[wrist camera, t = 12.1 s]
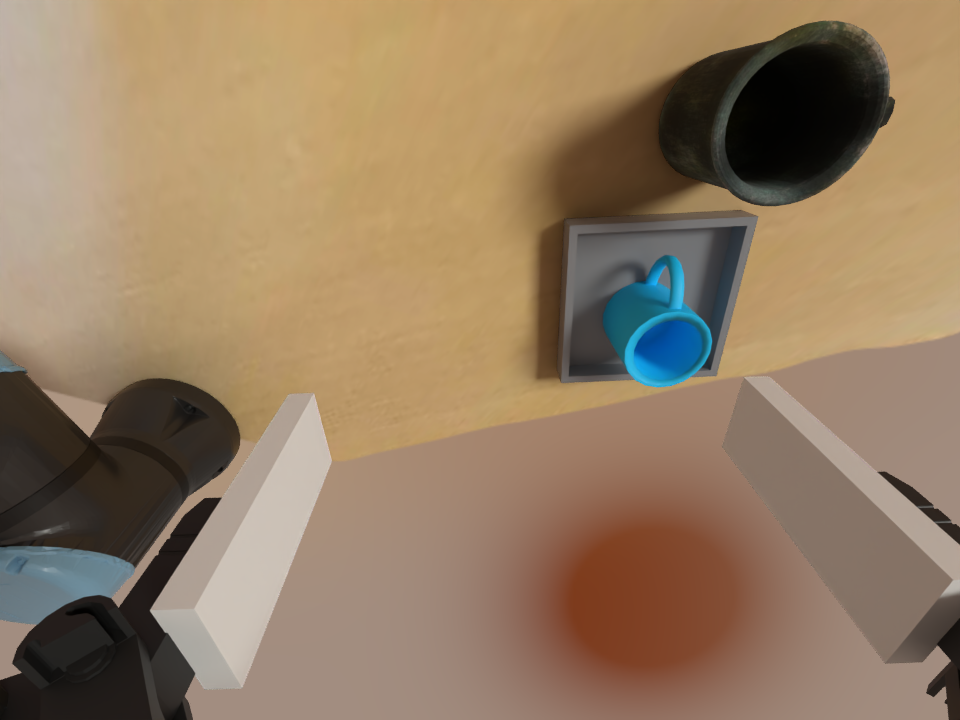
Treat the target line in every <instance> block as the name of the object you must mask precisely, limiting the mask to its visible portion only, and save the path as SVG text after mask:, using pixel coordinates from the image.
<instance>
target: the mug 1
mask: <svg viewBox="0 0 960 720" xmlns="http://www.w3.org/2000/svg"><path fill="white" fill-rule="evenodd" d="M666 266H667V267H668V270H669V274H670V289H669V288H667V287H665V286H664V285H662V284H660V283H657V282H658V279H659V277H660V275H661V273H662V271H663V269H664V268H665V267H666ZM683 297H684V273H683V269H682V265H681V263H680V262H679V260H678V259H677V258H676V257H675V256H670V255H664V256H662V257H661V258H659V259H658V260H656V262H655V263H654V264H653V266H652V267H651V269H650V271H649V273H648V276H647V278H646V281H641V282H635V283H632V284H630V285H628V286H625V287H623V288H622V289H621V290H619V291H618V292H617V293H616V294H614V295H613V297H612V298H611V299H610V301H609V302H608V303H607V305H606V308H605V311H604V313H603V327H604V330H605V333H606V335H607V337H608V339H609V340H610V342H611V344H612V345H613V347H614V349H615V351H616V352H617V354H618V356H619V357H620V359H621V361H622V362H623V364H624V366H625V368H626V369H627V371H628V372H629V374H630V375H631V376H632V377H633V378H634V379H635V380H636V381H638V382H640V383H642V384H644V385H647V386H653V387H665V386H672V385H675V384H677V383H680V382H683V381H685V380H686V379H688V378H689V377H691V376H692V375H694V374H695V373H696V372H697V371H698V370H699V369H700V368H701V367H702V366H703V365H704V363H705V362H706V360H707V358H708V356H709V354H710V351H711V345H712V337H711V333H710V329H709V328H708V326H707V325H706V324H705V322H704V321H703V320H702V319H701V318H700V317H699V316H698V315H697V314H696V313H695V312H694V311H692V310H691V309H690V308H689V307H688V306H687V305H686V304H685V303H684V302H683Z"/></svg>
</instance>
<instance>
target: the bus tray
mask: <svg viewBox="0 0 960 720" xmlns="http://www.w3.org/2000/svg"><path fill="white" fill-rule="evenodd" d="M757 219H758V216H756V215H753V214H750V213H748V212H745V211H742V210H733V211H713V212H693V213H673V214H652V215H632V216H612V217H592V218H571V219H564V233H563V253H562V274H561V294H560V315H559V335H558V356H557V372H558V375H559V378H560V381H561V383H571V382H594V381H616V380H635V379H634V378H633V377H632V376H631V375H630V374H629V372H628V371H627V369H626V368H625V366H624V364H623V362H622V361H621V359H620V357H619V356H618V354H617V352H616V351H615V349H614V347H613V345H612V344H611V342H610V340H609V339H608V337H607V335H606V333H605V330H604V327H603V313H604V311H605V308H606V305H607V303H608V302H609V301H610V299H611V298H612V297H613V295H614V294H616V293H617V292H618V291H619V290H621V289H622V288H623V287H625V286H628V285H630V284H632V283H635V282H641V281H646V278H647V276H648V273H649V271H650V269H651V267H652V266H653V264H654V263H655V262H656V260H658V259H659V258H661V257H662V256H664V255H670V256H675V257H676V258H677V259H678V260H679V262H680V263H681V265H682V269H683V273H684V297H683V302H684V303H685V304H686V305H687V306H688V307H689V308H690V309H691V310H692V311H694V312H695V313H696V314H697V315H698V316H699V317H700V318H701V319H702V320H703V321H704V322H705V324H706V325H707V326H708V328H709V329H710V333H711V337H712V345H711V351H710V354H709V356H708V358H707V360H706V362H705V363H704V365H703V366H702V367H701V368H700V369H699V370H698V371H697V372H696V373H695V374H694V375H692V376H691V377H706V376H716V375H717V371H718V368H719V364H720V360H721V356H722V352H723V349H724V345H725V341H726V337H727V333H728V330H729V326H730V322H731V318H732V314H733V311H734V307H735V303H736V299H737V295H738V292H739V288H740V284H741V280H742V276H743V273H744V269H745V265H746V261H747V257H748V254H749V250H750V246H751V242H752V238H753V235H754V231H755V227H756V223H757ZM657 283H660V284H662V285H664V286H665V287H667V288H669V289H670V274H669V270H668V267H667V266H666V267H665V268H664V269H663V271H662V273H661V275H660V277H659V279H658V282H657Z"/></svg>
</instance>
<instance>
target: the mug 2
mask: <svg viewBox="0 0 960 720" xmlns="http://www.w3.org/2000/svg"><path fill="white" fill-rule="evenodd" d="M889 89H890V76H889V68H888V64H887V60H886V57H885V55H884V53H883V51H882V48H881V47H880V45H879V44H878V43H877V41H876V40H875V39H874V38H873V37H872V36H871V35H870V34H868V33H867V32H866V31H865V30H863V29H861V28H859V27H857V26H855V25H852V24H849V23H844V22H839V21H820V22H814V23H808V24H805V25H802V26H799V27H797V28H794V29H791V30H789V31H787V32H786V33H784V34H782V35H780V36H778V37H776V38H775V39H773V40H771V41H767V42H762V43H758V44H754V45H750V46H745V47H741V48H737V49H733V50H728V51H724V52H720V53H717V54H714V55H711V56H709V57H707V58H705V59H703V60H701V61H700V62H698V63H697V64H695V65H694V66H693V67H691V68H690V69H689V70H688V71H687V72H686V73H685V74H684V75H683V76H682V77H681V78H680V79H679V80H678V82H677V83H676V84H675V85H674V87H673V89H672V90H671V92H670V93H669V95H668V97H667V99H666V101H665V104H664V107H663V110H662V113H661V117H660V122H659V140H660V146H661V149H662V152H663V154H664V156H665V158H666V160H667V161H668V163H669V164H670V165H671V166H672V167H673V168H674V169H675V170H676V171H677V172H679V173H681V174H682V175H685V176H687V177H690V178H693V179H696V180H699V181H703V182H706V183H709V184H712V185H715V186H719V187H722V188H725V189H728V190H729V191H730V192H731V193H732V194H733V195H734V196H736V197H738V198H739V199H741V200H743V201H745V202H748V203H751V204H754V205H760V206H780V205H786V204H791V203H795V202H798V201H802V200H804V199H806V198H809V197H811V196H813V195H816V194H817V193H819V192H821V191H822V190H824V189H826V188H828V187H829V186H830V185H832V184H833V183H834V182H836V181H837V180H838V179H840V178H841V177H842V176H843V175H844V174H845V173H846V172H847V171H848V170H850V169H851V168H852V167H853V165H854V164H855V163H856V162H857V161H858V160H859V159H860V157H861V156H862V155H863V153H864V152H865V151H866V149H867V148H868V146H869V145H870V144H871V142H872V140H873V138H874V136H875V135H876V133H877V131H878V129H879V128H881V127H882V126H884V125H886V124H887V122H888V120H889V118H890V116H891V114H892V112H893V109H894V104H895V100H894V99H893V98H892V97H889Z"/></svg>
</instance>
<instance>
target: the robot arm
mask: <svg viewBox="0 0 960 720" xmlns="http://www.w3.org/2000/svg"><path fill="white" fill-rule="evenodd" d="M26 373H27V370H26V369H25V368H23V367H21V366H17V365H16V364H15V363H14V362H13V361H12V360H11V359H10V358H9V357H8V356H6V355H5V354H4V353H3V352H2V351H1V350H0V620H6V621H10V622H18V623H26V624H37V625H36V626H35V627H34V628H33V629H32V630H31V631H30V632H29V633H28V634H27V636H26V637H25V638H24V640H23V641H22V643H21V644H20V645H19V647H18V648H17V651H16V654H15V657H14V660H13V665H14V666H16V667H17V668H18V669H19V670H20V671H21V672H22V673H20V674H17V675H14V676H11V677H8V678H5V679H3V680H0V720H193V718H192V713H191V710H190V706H189V703H188V701H187V699H186V698H185V694H186V692H187V690H188V688H189V686H190V683H191V682H192V680H193V677H194V676H195V677H196V678H197V679H198V681H199V682H200V684H201V685H202V686H203V688H204V689H205V690H207V689H234V688H242V687H243V685H244V682H245V680H246V677H247V675H248V672H249V670H250V667H251V665H252V662H253V660H254V657H255V655H256V652H257V650H258V647H259V644H260V642H261V639H262V637H263V634H264V632H265V629H266V627H267V624H268V621H269V619H270V617H271V614H272V612H273V609H274V606H275V604H276V601H277V599H278V596H279V594H280V591H281V589H282V586H283V584H284V581H285V579H286V576H287V573H288V571H289V568H290V566H291V563H292V561H293V558H294V556H295V553H296V551H297V548H298V546H299V543H300V541H301V538H302V536H303V533H304V530H305V528H306V525H307V523H308V520H309V518H310V515H311V513H312V510H313V508H314V505H315V503H316V500H317V497H318V495H319V493H320V490H321V487H322V485H323V482H324V480H325V477H326V475H327V472H328V470H329V467H330V464H331V462H332V460H331V456H330V452H329V448H328V445H327V441H326V437H325V433H324V429H323V426H322V422H321V418H320V414H319V410H318V407H317V403H316V399H315V395H314V393H301V394H288V396H287V397H286V399H285V401H284V402H283V404H282V405H281V407H280V408H279V410H278V411H277V413H276V415H275V416H274V418H273V419H272V421H271V422H270V424H269V425H268V427H267V429H266V430H265V432H264V433H263V435H262V436H261V438H260V439H259V441H258V443H257V444H256V446H255V447H254V449H253V450H252V452H251V454H250V455H249V457H248V458H247V460H246V461H245V463H244V464H243V466H242V468H241V469H240V471H239V472H238V474H237V475H236V477H235V478H234V480H233V482H232V483H231V485H230V486H229V488H228V489H227V491H226V492H225V494H224V496H223V497H222V498H204V499H203V500H202V501H201V502H200V503H198V504H197V505H196V506H195V507H194V508H192V509H191V510H190V511H189V512H188V513H187V514H185V515H184V516H183V518H182V519H181V521H180V522H179V524H178V525H177V526H176V528H175V529H174V531H173V532H172V533H171V537H170V539H167V540H166V542H165V543H164V545H163V546H162V547H161V549H160V550H159V554H158V555H157V556H155V558H154V559H153V560H152V562H151V563H150V564H149V566H148V567H147V569H146V570H145V572H144V573H143V575H142V576H141V577H140V579H139V580H138V581H137V583H136V584H135V586H134V587H133V588H132V590H131V591H130V593H129V594H128V596H127V597H126V598H125V600H124V601H123V603H122V604H121V605H120V607H119V608H118V607H117V605H116V604H115V603H114V602H113V600H112V599H111V598H112V597H113V596H114V594H115V593H116V592H117V591H118V590H119V589H120V587H121V586H122V585H123V584H124V583H125V582H126V580H127V579H129V578H130V577H131V576H132V575H133V574H134V571H135V568H136V567H137V565H138V564H139V562H140V561H141V560H142V559H143V557H144V556H145V554H146V553H147V552H148V550H149V549H150V548H151V546H152V545H153V544H154V542H155V541H156V539H157V538H158V537H159V535H160V534H161V532H162V531H163V530H164V528H165V527H166V526H167V524H168V523H169V522H170V520H171V519H172V517H173V516H174V515H175V513H176V512H177V511H178V509H179V508H180V506H181V505H182V504H183V502H184V501H185V500H186V498H187V497H188V496H190V495H191V494H193V493H194V492H196V491H197V490H198V489H200V488H201V487H203V486H204V485H206V484H207V483H208V482H210V481H211V480H212V479H214V478H215V477H217V476H218V475H220V474H221V473H222V472H223V471H224V470H225V469H226V468H227V467H228V466H229V464H230V463H231V461H232V460H233V459H234V457H235V456H236V454H237V452H238V449H239V446H240V434H239V429H238V427H237V424H236V422H235V420H234V419H233V417H232V416H231V414H230V413H229V412H228V410H227V409H226V408H225V407H224V406H223V405H222V404H221V403H220V402H219V401H217V400H216V399H215V398H213V397H212V396H211V395H209V394H208V393H206V392H204V391H202V390H200V389H199V388H196V387H194V386H192V385H189V384H186V383H183V382H180V381H175V380H170V379H146V380H142V381H138V382H136V383H133V384H131V385H129V386H128V387H126V388H125V389H124V390H123V391H121V392H120V393H119V394H118V395H116V396H115V397H114V398H113V399H112V400H111V401H110V402H109V403H108V405H107V406H106V408H105V410H104V412H103V415H102V419H101V420H100V422H99V424H98V425H97V427H96V428H95V430H94V432H93V433H92V435H91V437H90V438H89V437H88V436H87V435H86V434H85V433H84V432H83V431H82V430H81V429H80V428H79V427H78V426H77V425H76V424H75V423H74V422H73V421H72V420H71V419H70V418H69V417H68V416H67V415H66V414H65V413H64V412H63V411H62V410H61V409H60V408H59V407H58V406H57V405H56V404H55V403H54V402H53V401H52V400H51V399H50V398H49V397H48V396H47V395H46V394H45V393H44V392H43V391H42V390H41V389H40V388H39V387H38V386H37V385H36V384H35V383H34V382H33V381H32V380H31V379H30V378H29V377H28V376H27V375H26ZM722 448H723V449H724V450H725V452H726V453H727V454H728V456H729V457H730V458H731V460H732V461H733V462H734V464H735V465H736V466H737V467H738V469H739V470H740V471H741V473H742V474H743V475H744V477H745V478H746V479H747V481H748V482H749V483H750V485H751V486H752V487H753V489H754V490H755V491H756V493H757V494H758V495H759V497H760V498H761V499H762V501H763V502H764V503H765V505H766V506H767V507H768V508H769V510H770V511H771V513H772V514H773V515H774V517H775V518H776V519H777V521H778V522H779V523H780V524H781V526H782V527H783V529H784V530H785V531H786V533H787V534H788V535H789V536H790V538H791V539H792V541H793V542H794V543H795V545H796V546H797V547H798V549H799V550H800V551H801V552H802V554H803V555H804V557H805V558H806V559H807V560H808V562H809V563H810V564H811V566H812V567H813V568H814V570H815V571H816V572H817V574H818V575H819V576H820V578H821V579H822V580H823V582H824V583H825V584H826V586H827V587H828V588H829V590H830V591H831V592H832V594H833V595H834V596H835V598H836V599H837V600H838V602H839V603H840V604H841V605H842V607H843V608H844V610H845V611H846V612H847V614H848V615H849V616H850V618H851V619H852V620H853V622H854V623H855V624H856V626H857V627H858V628H859V630H860V631H861V632H862V634H863V635H864V636H865V638H866V639H867V640H868V642H869V643H870V644H871V646H872V647H873V648H874V649H875V651H876V652H877V653H878V655H879V656H880V658H881V659H882V660H883V661H884V663H885V664H886V663H912V662H923V661H924V660H925V659H926V657H927V656H928V655H929V654H930V653H931V652H932V651H933V650H934V648H936V646H937V645H938V646H939V647H940V648H941V649H942V651H943V652H944V653H945V654H946V655H947V656H948V657H949V659H950V660H951V662H950V663H949V664H948V665H947V666H946V667H945V668H944V669H943V670H942V671H941V672H940V673H939V674H938V675H937V676H936V677H935V679H933V681H932V682H931V683H930V684H929V685H928V689H927V692H926V693H927V694H929V695H931V696H933V697H934V696H935V695H936V694H937V693H938V692H939V691H940V690H941V689H942V688H943V687H946V693H947V699H946V700H945V703H946V704H947V705H948V717H949V720H960V527H959V526H957V525H956V524H952V523H951V520H950V519H949V518H948V517H947V516H946V515H944V514H943V513H942V512H941V511H940V510H939V509H934V507H933V504H931V503H930V502H929V501H928V500H927V499H926V498H924V497H923V496H922V495H921V494H920V493H919V492H917V491H916V490H915V489H914V488H913V487H911V486H909V485H908V484H906V483H904V482H902V481H901V480H899V479H897V478H895V477H894V476H892V475H890V474H888V473H887V472H876V471H875V470H874V469H873V468H872V467H871V466H870V465H869V464H867V463H866V462H865V461H864V460H863V459H862V458H861V457H860V456H859V455H857V454H856V453H855V452H854V451H853V450H852V449H851V448H849V447H848V446H847V445H846V444H845V443H844V442H843V441H841V440H840V439H839V438H838V437H837V436H836V435H835V434H834V433H833V432H831V431H830V430H829V429H828V428H827V427H826V426H824V425H823V424H822V423H821V422H820V421H819V420H818V419H816V418H815V417H814V416H813V415H812V414H811V413H810V412H809V411H808V410H806V409H805V408H804V407H803V406H802V405H801V404H800V403H798V402H797V401H796V400H795V399H794V398H793V397H792V396H791V395H790V394H788V393H787V392H786V391H785V390H784V389H783V388H782V387H780V386H779V385H778V384H777V383H776V382H775V381H774V380H773V379H771V378H770V377H769V376H766V377H744V379H743V382H742V385H741V388H740V391H739V394H738V398H737V401H736V404H735V407H734V410H733V414H732V417H731V420H730V423H729V426H728V429H727V432H726V435H725V439H724V442H723V445H722Z"/></svg>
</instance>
